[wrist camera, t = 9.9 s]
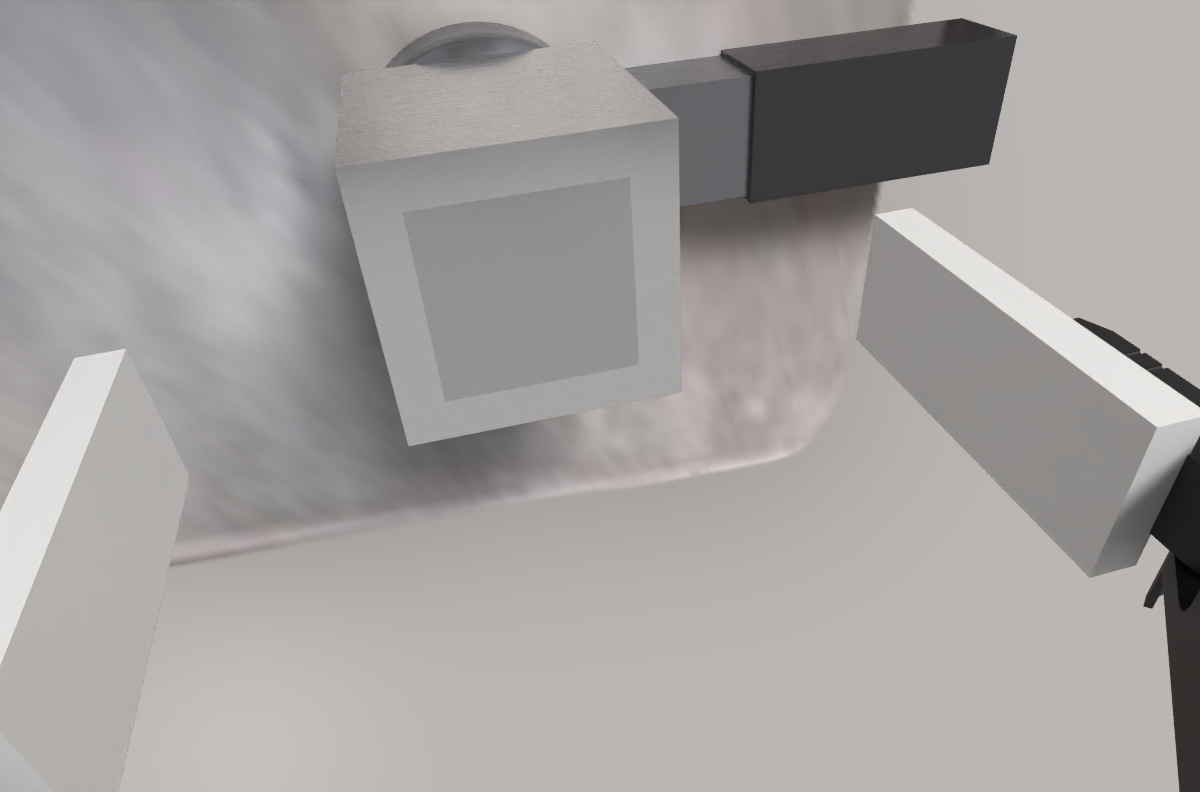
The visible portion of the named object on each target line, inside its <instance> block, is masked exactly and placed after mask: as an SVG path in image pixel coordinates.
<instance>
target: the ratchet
mask: <svg viewBox="0 0 1200 792" xmlns="http://www.w3.org/2000/svg"><path fill="white" fill-rule="evenodd" d="M1016 39H1017V35H1014V34H1010V33H1007V32H1004V31H1001V30H998V29H995V28H991V27H988V26H985V25H982V24H979V23H976V22H972V21H969V20H966V19H963V18H960V19H952V20H945V21H938V22H930V23H922V24H914V25H907V26H900V27H892V28H885V29H877V30H870V31H862V32H854V33H847V34H839V35H832V36H824V37H817V38H809V39H802V40H794V41H786V42H779V43H771V44H764V45H756V46H749V47H741V48H733V49H726V50H721V55H720V56H713V57H705V58H698V59H690V60H683V61H675V62H668V63H660V64H653V65H645V66H638V67H630V68H624V69H626V70H627V71H628V72H629V73H630V74H631V75H632V76H633V77H634V78H635V79H636V80H638V81H639V82H640V83H641V84H642V85H643V86H644V87H645V88H646V89H647V90H649V91H650V92H651V93H652V94H653V95H654V96H655V97H656V98H657V99H658V100H659V101H661V102H662V103H663V104H664V105H665V106H666V107H667V108H668V109H669V110H670V111H672V112H673V113H674V114H675V115H676V116H677V117H678V118H679V195H680V207H683V206H689V205H695V204H701V203H707V202H714V201H720V200H726V199H732V198H738V197H745V198H746V199H747V200H748V201H749V202H750V203H754V202H760V201H766V200H772V199H778V198H784V197H791V196H797V195H803V194H809V193H815V192H821V191H827V190H834V189H840V188H846V187H852V186H858V185H864V184H870V183H876V182H883V181H889V180H895V179H900V178H907V177H913V176H919V175H925V174H932V173H937V172H944V171H950V170H956V169H962V168H968V167H974V166H980V165H987V164H989V161H990V157H991V152H992V148H993V143H994V138H995V134H996V130H997V125H998V121H999V116H1000V111H1001V106H1002V102H1003V97H1004V93H1005V88H1006V84H1007V80H1008V75H1009V70H1010V66H1011V61H1012V56H1013V52H1014V48H1015V43H1016ZM546 47H550V46H549V45H547V44H546V43H545V42H543V41H542V40H540V39H538V38H536V37H535V36H533V35H531V34H529V33H527V32H524V31H522V30H519V29H517V28H514V27H510V26H506V25H502V24H498V23H488V22H467V23H459V24H454V25H449V26H445V27H443V28H440V29H437V30H434V31H431V32H429V33H427V34H425V35H424V36H422V37H420V38H418V39H416V40H415V41H413V42H412V43H411V44H409V45H408V46H406V47H405V48H404V49H402V50H401V51H400V52H399V53H398V54H397V55H396V56H395V57H394V58H393V59H392V60H391V61H390V62H389V64H388V65H387V66H386V68H390V67H398V66H406V65H414V64H422V63H429V62H437V61H445V60H453V59H460V58H468V57H476V56H484V55H492V54H499V53H507V52H515V51H523V50H531V49H538V48H546Z"/></svg>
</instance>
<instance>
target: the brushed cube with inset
mask: <svg viewBox="0 0 1200 792" xmlns="http://www.w3.org/2000/svg"><path fill="white" fill-rule="evenodd" d="M334 170H335V173H336V177H337V181H338V185H339V188H340V192H341V196H342V200H343V203H344V207H345V211H346V215H347V218H348V222H349V226H350V230H351V233H352V237H353V241H354V244H355V248H356V252H357V256H358V259H359V263H360V267H361V271H362V274H363V278H364V282H365V286H366V289H367V293H368V297H369V301H370V304H371V308H372V312H373V315H374V319H375V323H376V327H377V330H378V334H379V338H380V342H381V345H382V349H383V353H384V357H385V360H386V364H387V368H388V371H389V375H390V379H391V383H392V386H393V390H394V394H395V398H396V401H397V405H398V409H399V413H400V416H401V420H402V424H403V428H404V431H405V435H406V439H407V442H408V446H413V445H418V444H423V443H428V442H433V441H438V440H443V439H448V438H453V437H458V436H463V435H469V434H474V433H479V432H484V431H489V430H494V429H499V428H504V427H509V426H514V425H519V424H524V423H529V422H534V421H539V420H544V419H549V418H554V417H559V416H564V415H569V414H574V413H579V412H584V411H589V410H594V409H599V408H605V407H610V406H615V405H620V404H625V403H630V402H635V401H640V400H645V399H650V398H655V397H660V396H665V395H670V394H675V393H680V392H682V370H681V283H680V195H679V118H678V117H677V116H676V115H675V114H674V113H673V112H672V111H670V110H669V109H668V108H667V107H666V106H665V105H664V104H663V103H662V102H661V101H659V100H658V99H657V98H656V97H655V96H654V95H653V94H652V93H651V92H650V91H649V90H647V89H646V88H645V87H644V86H643V85H642V84H641V83H640V82H639V81H638V80H636V79H635V78H634V77H633V76H632V75H631V74H630V73H629V72H628V71H627V70H626V69H624V68H623V67H622V66H621V65H620V64H619V63H618V62H617V61H616V60H615V59H614V58H612V57H611V56H610V55H609V54H608V53H607V52H606V51H605V50H604V49H603V48H601V47H600V46H599V45H598V44H597V43H596V42H595V41H593V42H585V43H577V44H569V45H562V46H554V47H546V48H538V49H531V50H523V51H515V52H507V53H499V54H492V55H484V56H476V57H468V58H460V59H453V60H445V61H437V62H429V63H422V64H414V65H406V66H398V67H390V68H382V69H375V70H367V71H359V72H351V73H344V74H342V84H341V96H340V107H339V118H338V129H337V141H336V152H335V163H334Z"/></svg>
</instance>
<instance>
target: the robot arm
mask: <svg viewBox="0 0 1200 792" xmlns="http://www.w3.org/2000/svg"><path fill="white" fill-rule="evenodd" d="M856 339H857V340H858V341H859V342H860V343H861V344H862V345H863V346H864V347H865V348H866V349H867V350H868V351H869V352H870V353H871V354H872V355H873V357H875V358H876V360H877V361H878V362H879V363H880V364H882V366H883V367H884V368H885V369H886V370H887V371H888V372H889V373H890V374H891V375H892V376H893V377H894V378H895V379H896V380H897V381H898V382H899V383H900V384H901V385H902V386H903V387H904V388H905V389H906V390H907V391H908V392H909V393H910V394H911V395H912V396H913V397H914V398H915V400H917V402H919V404H920V405H922V407H923V408H924V409H925V410H926V411H927V412H928V413H929V414H930V415H931V416H932V417H933V418H934V419H935V420H936V421H937V422H938V423H939V424H940V425H941V426H942V427H943V428H944V429H945V430H946V431H947V432H948V433H949V434H950V435H951V436H952V437H953V438H954V439H955V440H956V441H957V442H958V444H959V445H960V446H961V447H962V448H963V449H964V450H965V451H966V452H967V453H968V454H969V455H970V456H971V457H972V458H973V459H974V460H975V461H976V462H977V463H978V464H979V465H980V466H981V467H982V468H983V469H984V470H985V471H986V472H987V473H988V474H989V475H990V476H991V477H992V478H993V479H994V480H995V481H996V482H997V483H998V484H999V485H1000V486H1001V487H1002V489H1004V491H1005V492H1007V493H1008V495H1009V496H1011V498H1012V499H1013V500H1014V501H1015V502H1016V503H1017V504H1018V505H1019V506H1020V507H1021V508H1022V509H1023V510H1024V511H1025V512H1026V513H1027V514H1028V515H1029V516H1030V517H1031V518H1032V519H1033V520H1034V521H1035V522H1036V523H1037V524H1038V525H1039V526H1040V527H1041V528H1042V529H1043V530H1044V532H1046V534H1047V535H1048V536H1049V537H1050V538H1052V540H1053V541H1054V542H1055V543H1056V544H1057V545H1058V546H1059V547H1060V548H1061V549H1062V550H1063V551H1064V552H1065V553H1066V554H1067V555H1068V556H1069V557H1070V558H1071V559H1072V560H1073V561H1074V562H1075V563H1076V564H1077V565H1078V566H1079V567H1080V568H1081V569H1082V570H1083V571H1084V572H1085V573H1086V574H1087V576H1089V578H1090V577H1094V576H1098V575H1101V574H1105V573H1108V572H1112V571H1116V570H1120V569H1123V568H1127V567H1131V566H1134V565H1136V564H1137V562H1138V559H1139V557H1140V555H1141V553H1142V551H1143V549H1144V547H1145V545H1146V543H1147V541H1148V539H1149V537H1150V535H1151V534H1152V535H1153V536H1154V537H1155V538H1156V539H1157V540H1158V541H1159V542H1161V543H1162V544H1163V545H1164V546H1165V547H1166V548H1167V549H1168V550H1170V551H1169V553H1168V555H1167V557H1166V559H1165V561H1164V563H1163V564H1162V566H1161V568H1160V570H1159V572H1158V574H1157V576H1156V578H1155V580H1154V582H1153V583H1152V585H1151V587H1150V589H1149V591H1148V593H1147V595H1146V598H1145V602H1144V606H1145V607H1148V608H1153V606H1154V604H1155V602H1156V601H1157V599H1158V597H1159V596H1161V595H1163V594H1164V605H1165V617H1166V629H1167V642H1168V653H1169V667H1170V678H1171V691H1172V704H1173V716H1174V729H1175V741H1176V753H1177V766H1178V778H1179V790H1180V792H1200V389H1198V388H1197V387H1195V386H1194V385H1192V384H1191V383H1189V382H1188V381H1186V380H1185V379H1183V378H1182V377H1180V376H1179V375H1177V374H1176V373H1174V372H1173V371H1171V370H1170V369H1169V368H1165V369H1163V368H1162V364H1161V363H1159V362H1158V361H1157V360H1155V359H1154V358H1152V357H1151V356H1149V355H1148V354H1146V353H1143V354H1141V353H1140V349H1139V348H1137V347H1136V346H1134V345H1133V344H1131V343H1130V342H1128V341H1127V340H1125V339H1124V338H1122V337H1121V336H1119V335H1118V334H1116V333H1115V332H1114V331H1111V330H1109V329H1106V328H1104V327H1101V326H1099V325H1096V324H1093V323H1091V322H1088V321H1086V320H1083V319H1081V318H1075V319H1072V318H1070V317H1069V316H1067V315H1066V314H1064V313H1063V312H1062V311H1060V310H1058V309H1057V308H1056V307H1054V306H1053V305H1051V304H1050V303H1048V302H1047V301H1046V300H1044V299H1043V298H1041V297H1040V296H1038V295H1037V294H1035V293H1034V292H1032V291H1031V290H1030V289H1028V288H1027V287H1025V286H1024V285H1023V284H1021V283H1020V282H1018V281H1017V280H1015V279H1014V278H1012V277H1011V276H1010V275H1008V274H1007V273H1005V272H1004V271H1002V270H1001V269H1000V268H998V267H997V266H995V265H994V264H992V263H991V262H989V261H988V260H986V259H985V258H984V257H982V256H981V255H979V254H978V253H976V252H975V251H974V250H972V249H971V248H969V247H968V246H966V245H965V244H964V243H962V242H961V241H959V240H958V239H956V238H955V237H953V236H952V235H951V234H949V233H948V232H946V231H945V230H943V229H942V228H940V227H939V226H937V225H936V224H935V223H933V222H932V221H930V220H929V219H928V218H926V217H925V216H923V215H922V214H920V213H919V212H917V211H916V210H914V209H913V208H908V209H903V210H897V211H891V212H886V213H880V214H875V218H874V224H873V231H872V238H871V244H870V251H869V258H868V264H867V271H866V278H865V284H864V291H863V298H862V304H861V311H860V318H859V324H858V331H857V338H856ZM189 477H190V476H189V474H188V472H187V470H186V468H185V466H184V464H183V462H182V460H181V458H180V456H179V454H178V452H177V450H176V448H175V446H174V444H173V442H172V440H171V438H170V436H169V434H168V432H167V430H166V428H165V426H164V424H163V422H162V420H161V418H160V416H159V414H158V412H157V410H156V408H155V406H154V404H153V402H152V400H151V398H150V396H149V394H148V392H147V390H146V388H145V386H144V384H143V382H142V380H141V378H140V376H139V374H138V372H137V370H136V368H135V366H134V364H133V362H132V360H131V358H130V356H129V354H128V352H127V349H122V350H117V351H111V352H106V353H100V354H95V355H89V356H83V357H78V358H74V360H73V362H72V364H71V367H70V369H69V371H68V373H67V375H66V377H65V379H64V381H63V383H62V385H61V387H60V389H59V391H58V393H57V395H56V398H55V400H54V402H53V404H52V406H51V408H50V410H49V412H48V414H47V416H46V418H45V420H44V422H43V424H42V426H41V428H40V431H39V433H38V435H37V437H36V439H35V441H34V443H33V445H32V447H31V449H30V451H29V453H28V455H27V457H26V459H25V461H24V464H23V466H22V468H21V470H20V472H19V474H18V476H17V478H16V480H15V482H14V484H13V486H12V488H11V490H10V492H9V494H8V497H7V499H6V501H5V503H4V505H3V507H2V509H1V511H0V792H118V791H119V787H120V783H121V778H122V774H123V769H124V764H125V760H126V756H127V752H128V747H129V743H130V738H131V734H132V729H133V725H134V721H135V716H136V711H137V707H138V702H139V698H140V694H141V689H142V685H143V681H144V676H145V672H146V667H147V663H148V658H149V654H150V650H151V645H152V641H153V636H154V632H155V628H156V623H157V619H158V614H159V610H160V605H161V601H162V596H163V592H164V588H165V583H166V579H167V574H168V570H169V566H170V561H171V557H172V552H173V548H174V543H175V539H176V535H177V530H178V526H179V521H180V517H181V512H182V508H183V504H184V499H185V495H186V490H187V486H188V481H189Z"/></svg>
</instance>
